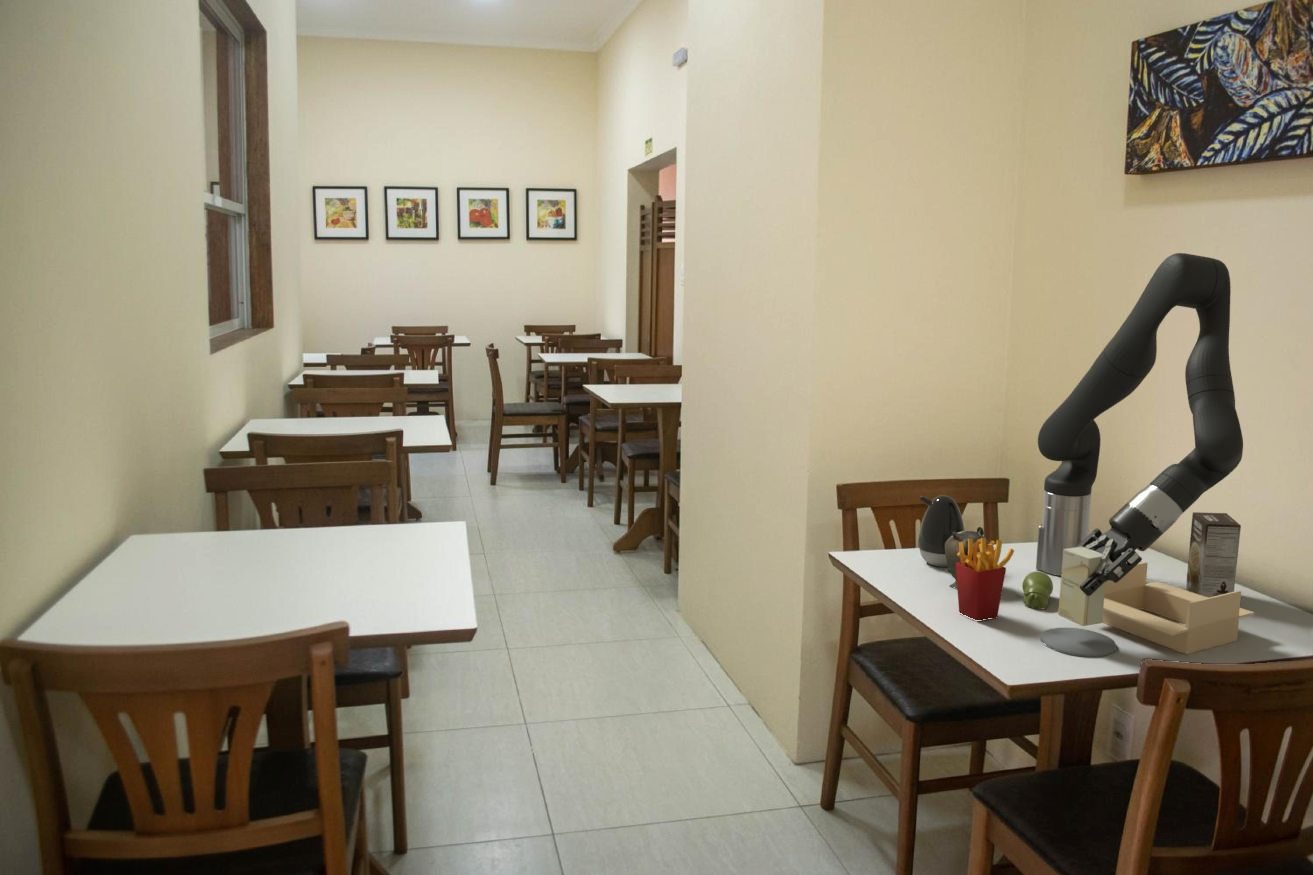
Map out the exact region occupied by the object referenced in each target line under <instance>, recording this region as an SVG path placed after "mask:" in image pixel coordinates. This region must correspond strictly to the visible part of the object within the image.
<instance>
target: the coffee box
mask: <svg viewBox="0 0 1313 875" xmlns="http://www.w3.org/2000/svg"><path fill="white" fill-rule="evenodd" d="M1241 528H1242V526H1241V524H1240V523H1238V522H1237V521H1236V520H1235V519H1234V518H1232V516H1230V514H1228V513H1226V512H1223V513H1222V512H1200V511H1199V512H1198V511H1197V512H1192V518H1191V527H1190V538H1189V550H1188V551H1189V552H1188V563H1187V572H1186V573H1187V574H1186V585H1185V590H1186V591H1189V592H1193V593H1196V594H1199V595H1202V596H1205V597H1208V598H1210V597H1214V596H1218V595H1222V594H1226V593H1230V592H1235V586H1236V585H1235V584H1236V576H1237V566H1238V565H1237V564H1238V558H1239V547H1240V537H1241V530H1242V529H1241Z"/></svg>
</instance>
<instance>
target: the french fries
mask: <svg viewBox="0 0 1313 875" xmlns="http://www.w3.org/2000/svg"><path fill="white" fill-rule="evenodd" d="M986 539H987V538H986V537H985V538H981V539H978V540H977V541H976V543H975V545H974V547H973V539H968V555H967V556H966V555H965V554H964V546H963V542H958V543H959V552H958V554H957V556H959V557H960V560H961V562H959V563H956V577H957V589H956V591H957V600H958V613H959V612H960V613H962V614H963V615H966V616H968V617H970V618H973V619H975V620H983V619H988V618H995V619H997V618H998V615H999V610H1000V604H1001V599H1002V593H1003V588H1004V582H1005V576H1006V570H1007V568H1006V567H1004V566H1005V565H1007V563H1009V561H1010V560H1011V559H1012V557H1013V555H1014V552H1015V550H1014V549H1013V548H1009V550H1008V552H1007V554H1006V556H1005V557H1004V558H1003V559H1002V561H1000V562H999V560H1000V558H1001V552H1002V545H1003V540H1001V539H996V541H995V540H990V541H989V542H990V543H989V544H988V547H987V549H986ZM980 542H981V544H980ZM994 545H995V547H994ZM978 546H979V547H980V552H978ZM972 554H973V560H971V559H972ZM985 557H986V560H985ZM963 615H962V616H963ZM996 617H997V618H996Z"/></svg>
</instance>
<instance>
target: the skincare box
mask: <svg viewBox="0 0 1313 875" xmlns="http://www.w3.org/2000/svg"><path fill="white" fill-rule="evenodd" d="M1101 556H1102V553H1099V552H1096V551H1094V550H1090V549H1087V548H1085V547H1082V546H1080V547H1074V548H1066V549H1064V550H1063V562H1062V574H1061V578H1060V586H1059V587H1060V589H1059V600H1058V601H1059V603H1058V613H1057V614H1058V616H1059V617H1062V618H1064V619H1067V620H1069V621H1071V622H1073V623H1075V624H1077V625H1079V626H1082V627H1087V626H1092V625H1093V626H1094V625H1098V624H1102V623H1103V622H1102V617H1103V606H1104V594H1105V583H1106V582H1104V583H1103V584H1102V585H1101V586H1100V587H1099V588H1098V589H1097V590H1096V591H1095V592H1094V593H1093V594H1092V595H1090V596H1087V595H1086V594H1085V593H1084V592H1083V591H1082V590H1081V589H1080V585H1081V584H1082V583H1083V582H1084V581H1085V580H1086V579H1088V578H1089V577H1090V576H1091V575H1092V574H1093V573H1094V572H1096V573H1097V569H1098V567H1099V565H1100V563H1101V562H1100V559H1101V558H1102V557H1101ZM1106 569H1107V568H1106Z"/></svg>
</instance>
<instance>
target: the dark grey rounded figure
mask: <svg viewBox="0 0 1313 875" xmlns="http://www.w3.org/2000/svg"><path fill="white" fill-rule="evenodd" d="M919 500H920V501H921V502H922V503H923V504H925V505H926V506H928V507H927V509H926V511H925V513H924V515H923V517H922V521H921V524H920V527H919V533H918V539H917V547H918V550H919V552H920V556H921V557H922V559H923V560H924V561H925V562H926V563H928V564H930V565H932V566H935V567H942V568H943V567H944V568H945V567H947V568H948V565H947V562H946V556H945V542H946V541H947V540H948V539H949V538H950V537H951V536H952V532H951V531H953V532H957V533H958V532H962V531H966V529H965V528H966V527H965V523H964V520H963V516H962V513H961V510H960V508H959V506H958V504H957V502H956V501H955V499H954V498H952V497H951V496H949V495H945V494H944V495H937V496H936V497H934V498H933V499H929V498H927V497H926V496H923V495H921V496H920V498H919Z"/></svg>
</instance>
